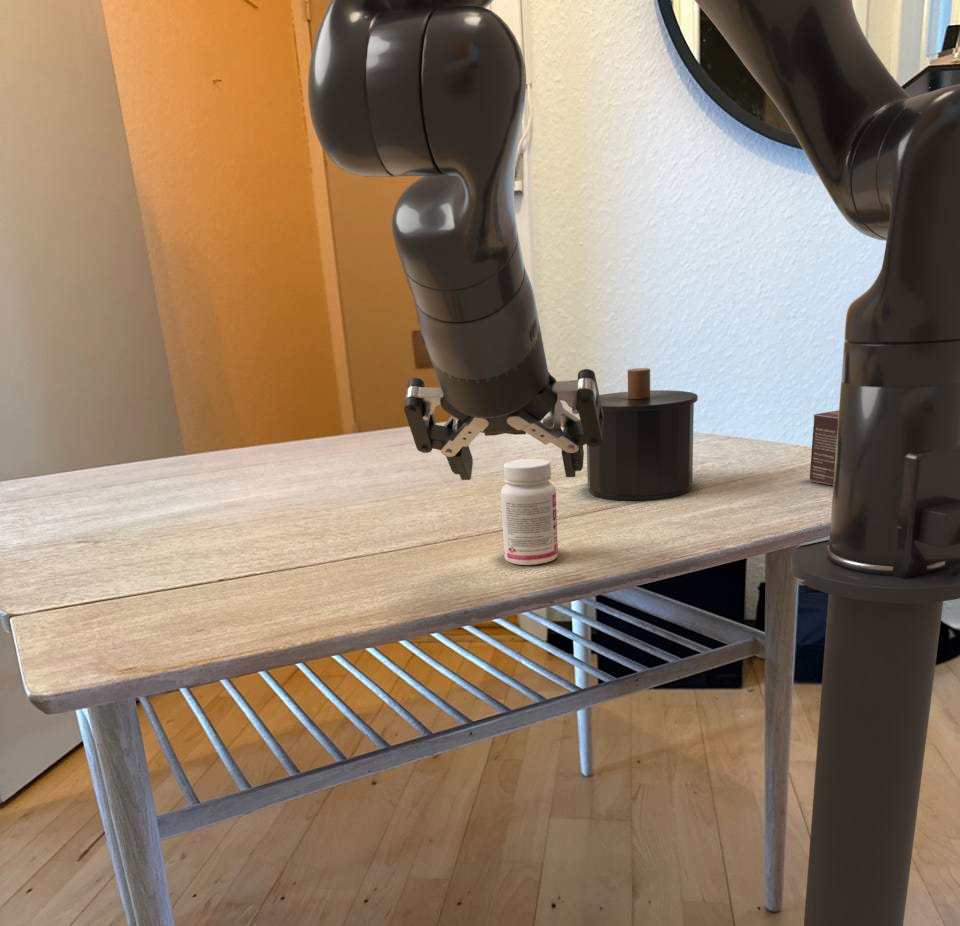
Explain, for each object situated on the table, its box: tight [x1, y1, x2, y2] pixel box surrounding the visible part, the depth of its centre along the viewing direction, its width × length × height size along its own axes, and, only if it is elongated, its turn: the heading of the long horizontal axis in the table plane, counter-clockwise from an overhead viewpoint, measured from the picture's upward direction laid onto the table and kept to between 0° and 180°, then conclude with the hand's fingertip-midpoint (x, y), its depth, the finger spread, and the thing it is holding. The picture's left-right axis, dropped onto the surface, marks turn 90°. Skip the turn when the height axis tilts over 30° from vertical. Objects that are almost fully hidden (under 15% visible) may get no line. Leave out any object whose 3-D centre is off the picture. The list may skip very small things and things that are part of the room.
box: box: [809, 409, 839, 486], centre depth 98 cm, size 6×6×7 cm
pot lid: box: [599, 367, 699, 411], centre depth 99 cm, size 12×12×4 cm
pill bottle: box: [500, 458, 559, 566], centre depth 79 cm, size 5×5×8 cm
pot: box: [586, 403, 695, 502], centre depth 101 cm, size 11×11×10 cm
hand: (518, 469), depth 74 cm, fingers open, 8 cm apart
